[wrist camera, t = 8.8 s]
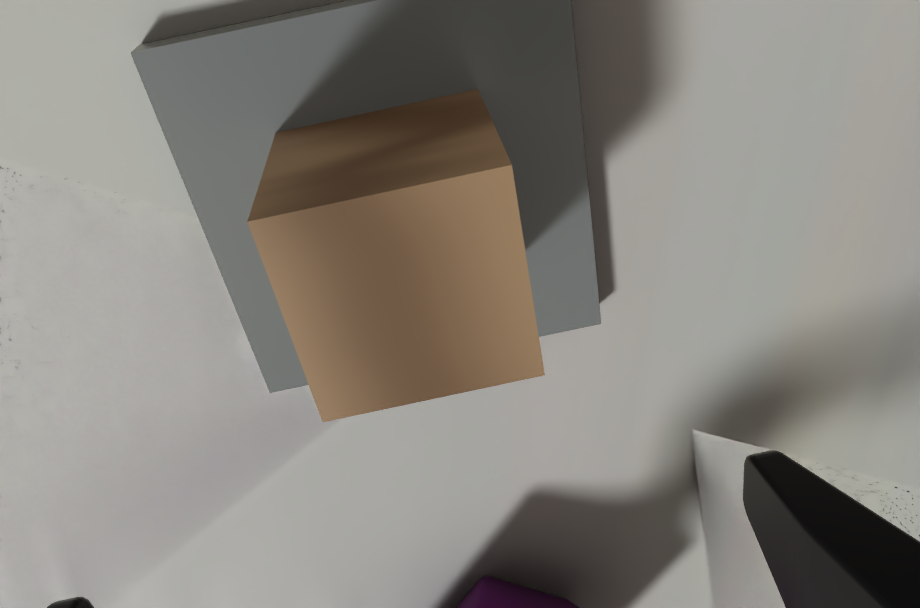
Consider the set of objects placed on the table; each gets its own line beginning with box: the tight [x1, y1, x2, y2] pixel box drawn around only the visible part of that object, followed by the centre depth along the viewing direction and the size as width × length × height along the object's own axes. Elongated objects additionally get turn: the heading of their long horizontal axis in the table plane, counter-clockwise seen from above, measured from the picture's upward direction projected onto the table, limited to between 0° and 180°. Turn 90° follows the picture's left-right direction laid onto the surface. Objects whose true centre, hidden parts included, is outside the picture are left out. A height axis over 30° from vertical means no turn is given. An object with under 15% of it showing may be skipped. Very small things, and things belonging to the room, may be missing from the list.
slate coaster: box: [131, 0, 601, 393], centre depth 20 cm, size 10×10×1 cm
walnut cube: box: [247, 89, 545, 422], centre depth 17 cm, size 5×5×5 cm
